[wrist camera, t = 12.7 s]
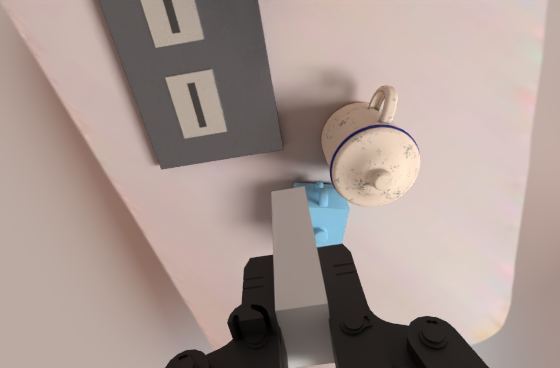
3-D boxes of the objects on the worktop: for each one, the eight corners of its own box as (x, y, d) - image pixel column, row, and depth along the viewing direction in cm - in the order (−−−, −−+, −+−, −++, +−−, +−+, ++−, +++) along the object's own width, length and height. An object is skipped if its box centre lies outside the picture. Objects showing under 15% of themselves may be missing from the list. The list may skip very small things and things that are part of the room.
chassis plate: (58, -125, 30) (48, -131, 28) (230, -161, 29) (229, -168, 28) (163, 165, 44) (160, 170, 42) (282, 145, 43) (283, 150, 42)
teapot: (327, 244, 51) (336, 282, 44) (285, 242, 51) (289, 280, 44) (341, 171, 45) (354, 202, 39) (294, 168, 45) (299, 200, 38)
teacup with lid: (378, 174, 46) (411, 228, 35) (310, 163, 44) (324, 215, 34) (413, 82, 40) (464, 116, 30) (337, 66, 39) (363, 95, 28)
